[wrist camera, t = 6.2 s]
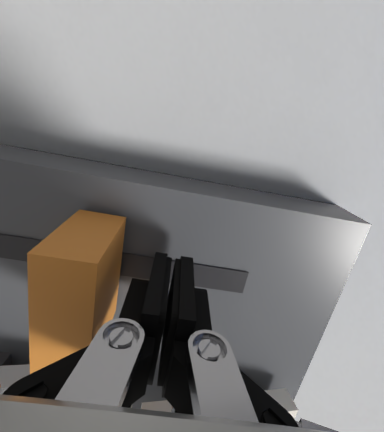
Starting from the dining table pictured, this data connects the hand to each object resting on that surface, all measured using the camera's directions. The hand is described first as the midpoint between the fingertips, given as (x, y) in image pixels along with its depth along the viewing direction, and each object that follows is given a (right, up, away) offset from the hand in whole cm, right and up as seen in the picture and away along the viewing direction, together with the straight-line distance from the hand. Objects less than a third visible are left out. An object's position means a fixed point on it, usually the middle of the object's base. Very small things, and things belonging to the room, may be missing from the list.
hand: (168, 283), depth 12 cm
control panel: (-3, -2, +5) cm, 6 cm away
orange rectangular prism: (-3, +1, +1) cm, 3 cm away
